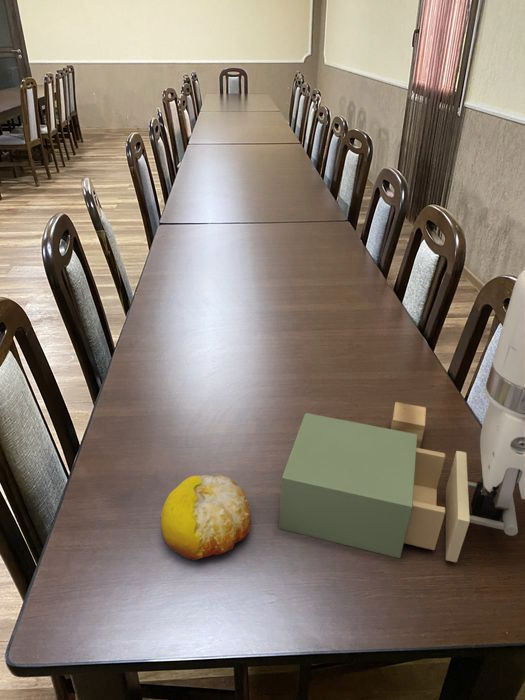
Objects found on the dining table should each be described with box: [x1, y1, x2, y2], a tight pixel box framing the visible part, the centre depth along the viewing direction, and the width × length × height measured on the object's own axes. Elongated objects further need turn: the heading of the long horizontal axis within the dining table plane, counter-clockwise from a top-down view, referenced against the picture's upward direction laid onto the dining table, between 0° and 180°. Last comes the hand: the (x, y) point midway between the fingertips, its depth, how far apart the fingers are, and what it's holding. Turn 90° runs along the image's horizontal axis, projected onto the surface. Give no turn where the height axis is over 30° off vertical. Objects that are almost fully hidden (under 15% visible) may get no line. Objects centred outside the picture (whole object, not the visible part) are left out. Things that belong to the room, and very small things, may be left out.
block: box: [390, 401, 427, 449], centre depth 80 cm, size 4×4×4 cm
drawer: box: [404, 447, 519, 563], centre depth 65 cm, size 19×11×7 cm, turn 74°
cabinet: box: [278, 412, 417, 559], centre depth 67 cm, size 15×13×9 cm
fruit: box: [160, 474, 252, 561], centre depth 64 cm, size 11×10×8 cm
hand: (484, 513), depth 64 cm, fingers closed
